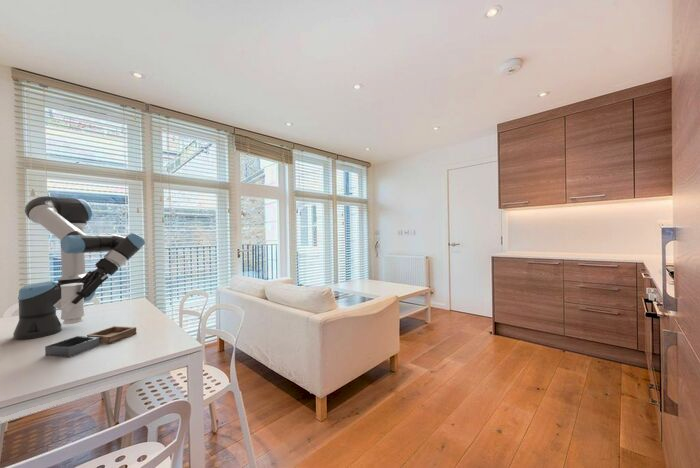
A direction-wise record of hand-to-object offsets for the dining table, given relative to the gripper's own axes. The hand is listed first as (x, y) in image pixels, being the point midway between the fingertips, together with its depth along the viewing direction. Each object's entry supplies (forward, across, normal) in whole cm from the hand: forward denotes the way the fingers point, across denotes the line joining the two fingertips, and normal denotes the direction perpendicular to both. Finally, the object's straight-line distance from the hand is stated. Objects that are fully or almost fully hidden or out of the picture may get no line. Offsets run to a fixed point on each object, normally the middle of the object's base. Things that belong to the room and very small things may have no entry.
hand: (60, 309), depth 110 cm
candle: (+2, 0, -7) cm, 7 cm away
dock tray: (0, +2, -25) cm, 25 cm away
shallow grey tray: (+10, 0, -15) cm, 18 cm away
